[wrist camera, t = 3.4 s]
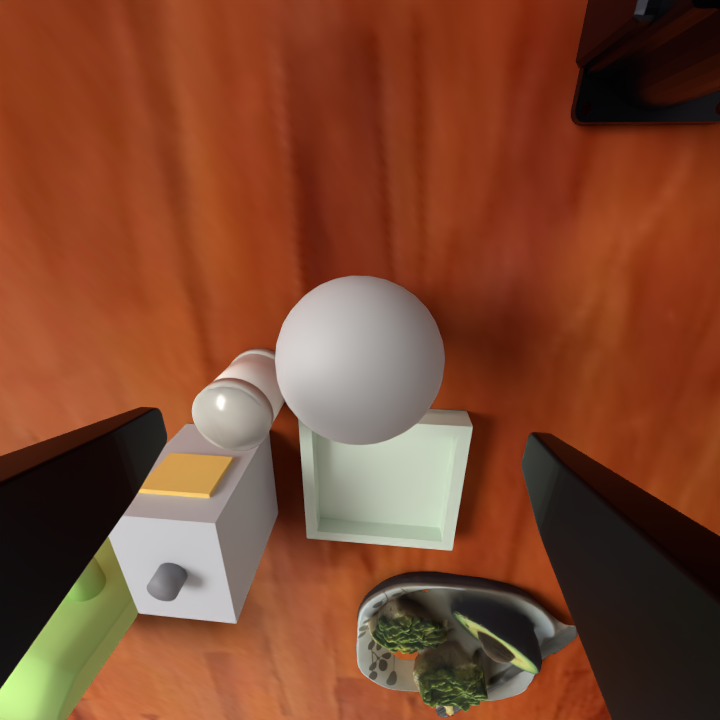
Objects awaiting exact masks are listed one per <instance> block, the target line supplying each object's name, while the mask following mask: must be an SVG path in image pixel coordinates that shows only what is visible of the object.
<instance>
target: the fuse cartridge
mask: <svg viewBox="0 0 720 720" xmlns="http://www.w3.org/2000/svg"><path fill="white" fill-rule="evenodd" d="M275 354H276V352H274V351H271V350H269V349H265V348H252V349H249V350H246V351H244V352H243V353H241V354H240V355H239V356H238V357H237V358H236V359H235V360H234V361H233V362H232V363H231V365H230V366H229V367H228V368H227V369H226V370H224V371H223V372H222V373H221V374H220V375H219V376H218V377H217V378H216V379H215V380H214V381H213V382H212V383H210V384H209V385H208V386H206V387H205V388H204V389H203V390H202V391H201V392H200V393H199V394H198V395H197V397H196V398H195V400H194V403H193V406H192V416H193V420H194V423H195V425H196V427H197V429H198V430H199V432H200V433H201V434H202V435H203V436H204V437H205V438H206V439H207V440H208V441H209V442H211V443H212V444H214V445H216V446H218V447H220V448H222V449H225V450H230V451H247V450H251V449H253V448H255V447H257V446H258V445H260V444H261V443H262V442H263V441H264V439H265V438H266V436H267V434H268V432H269V431H270V429H271V427H272V424H273V422H274V420H275V418H276V416H277V414H278V413H279V411H280V409H281V407H282V405H283V404H284V402H285V399H284V397H283V396H282V394H281V391H280V388H279V384H278V381H277V374H276V365H275Z"/></svg>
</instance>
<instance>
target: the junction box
mask: <svg viewBox="0 0 720 720" xmlns="http://www.w3.org/2000/svg"><path fill="white" fill-rule="evenodd" d="M277 515H278V506H277V497H276V488H275V479H274V471H273V462H272V453H271V444H270V436H269V432H268V434H267V436H266V438H265V439H264V441H263V442H262V443H261V444H260V445H258V446H257V447H255V448H253V449H251V450H247V451H230V450H225V449H222V448H220V447H218V446H216V445H214V444H212V443H211V442H209V441H208V440H207V439H206V438H205V437H204V436H203V435H202V434H201V433H200V432H199V430H198V429H197V427H196V425H195V424H186V425H185V426H184V427H183V428H182V429H181V430H180V431H179V432H178V433H177V434H176V435H175V436H174V437H173V438H172V439H171V440H170V441H169V442H168V443H167V444H166V445H165V447H164V448H163V450H162V452H161V454H160V455H159V457H158V459H157V461H156V462H155V464H154V466H153V468H152V469H151V471H150V473H149V475H148V476H147V478H146V480H145V482H144V483H143V485H142V487H141V489H140V490H139V492H138V494H137V495H136V497H135V498H134V500H133V501H132V503H131V504H130V506H129V507H128V509H127V510H126V512H125V513H124V514H123V516H122V517H121V519H120V520H119V522H118V523H117V524H116V526H115V527H114V529H113V530H112V532H111V533H110V534H109V536H108V537H109V539H110V542H111V544H112V547H113V550H114V552H115V555H116V557H117V560H118V562H119V565H120V567H121V570H122V572H123V575H124V577H125V580H126V582H127V585H128V588H129V590H130V593H131V595H132V598H133V600H134V603H135V605H136V608H137V610H138V613H140V614H149V615H159V616H168V617H178V618H188V619H197V620H207V621H216V622H226V623H235V624H237V621H238V619H239V616H240V613H241V611H242V608H243V605H244V603H245V600H246V597H247V595H248V592H249V590H250V587H251V584H252V582H253V579H254V576H255V574H256V571H257V568H258V566H259V563H260V560H261V558H262V555H263V552H264V550H265V547H266V544H267V542H268V539H269V537H270V534H271V531H272V529H273V526H274V523H275V521H276V518H277Z"/></svg>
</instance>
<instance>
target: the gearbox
mask: <svg viewBox="0 0 720 720" xmlns="http://www.w3.org/2000/svg"><path fill="white" fill-rule="evenodd" d="M137 615H138V610H137V608H136V605H135V603H134V600H133V598H132V595H131V593H130V590H129V588H128V585H127V582H126V580H125V577H124V575H123V572H122V570H121V567H120V565H119V562H118V560H117V557H116V555H115V552H114V550H113V547H112V544H111V542H110V539H109V537H107V539H106V540H105V541H104V543H103V544H102V546H101V547H100V549H99V550H98V551H97V553H96V554H95V556H94V557H93V559H92V560H91V561H90V563H89V564H88V566H87V567H86V568H85V570H84V571H83V573H82V574H81V576H80V577H79V578H78V580H77V581H76V583H75V584H74V585H73V587H72V588H71V590H70V591H69V593H68V594H67V595H66V597H65V598H64V600H63V601H62V603H61V604H60V605H59V607H58V608H57V610H56V611H55V612H54V614H53V615H52V617H51V618H50V620H49V621H48V622H47V624H46V625H45V627H44V628H43V630H42V631H41V632H40V634H39V635H38V637H37V638H36V639H35V641H34V642H33V644H32V645H31V647H30V648H29V649H28V651H27V652H26V654H25V655H24V657H23V658H22V659H21V661H20V662H19V664H18V665H17V666H16V668H15V669H14V671H13V672H12V674H11V675H10V676H9V678H8V679H7V681H6V682H5V683H4V685H3V686H2V688H1V689H0V719H1V720H66V719H67V718H68V716H69V715H70V714H71V712H72V711H73V709H74V708H75V706H76V705H77V703H78V702H79V700H80V699H81V697H82V696H83V695H84V693H85V692H86V690H87V689H88V687H89V686H90V684H91V683H92V681H93V680H94V679H95V677H96V676H97V674H98V673H99V671H100V670H101V668H102V667H103V665H104V664H105V662H106V661H107V660H108V658H109V657H110V655H111V654H112V652H113V651H114V649H115V648H116V646H117V645H118V643H119V642H120V641H121V639H122V638H123V636H124V635H125V633H126V632H127V630H128V629H129V627H130V626H131V624H132V623H133V622H134V620H135V619H136V617H137Z"/></svg>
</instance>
